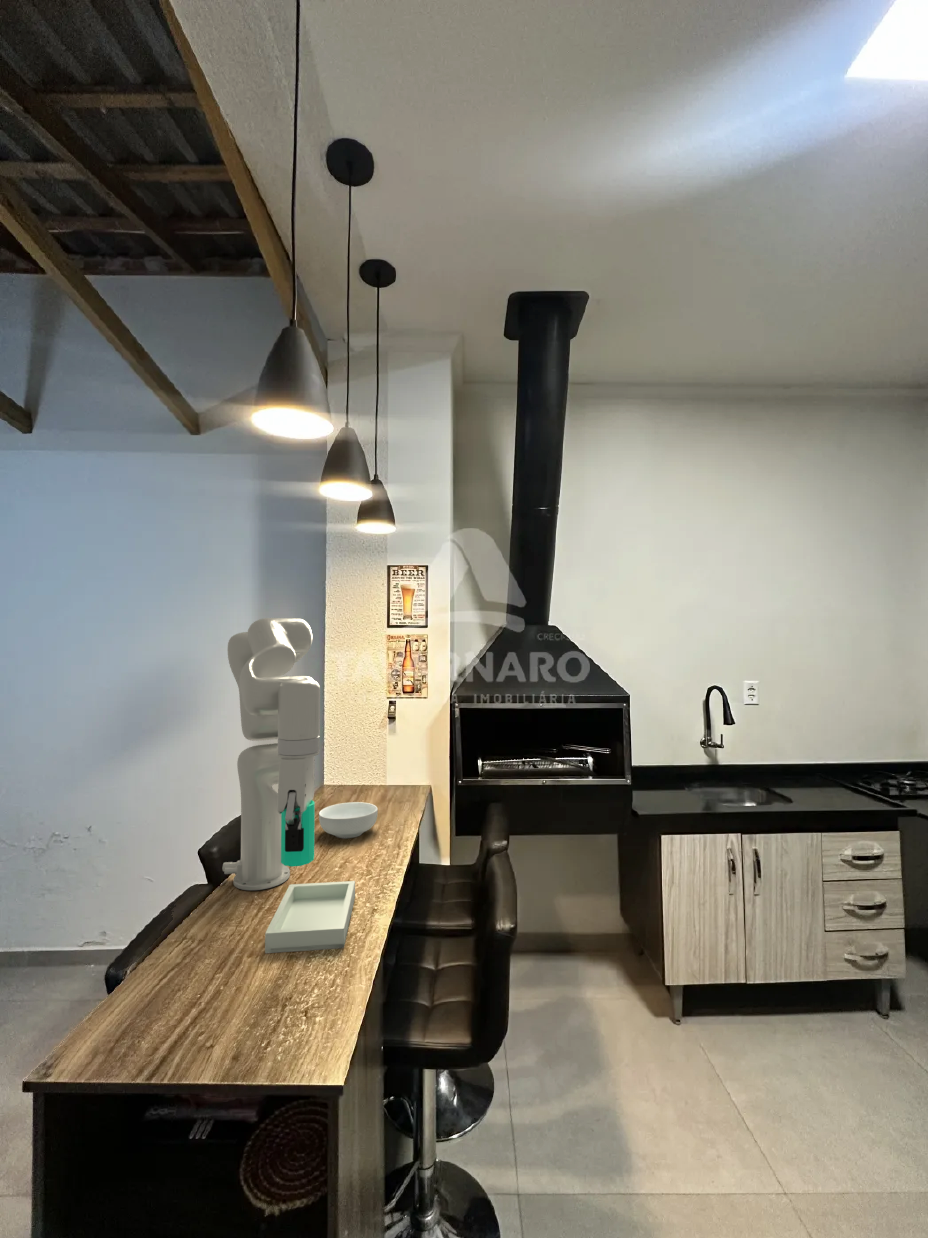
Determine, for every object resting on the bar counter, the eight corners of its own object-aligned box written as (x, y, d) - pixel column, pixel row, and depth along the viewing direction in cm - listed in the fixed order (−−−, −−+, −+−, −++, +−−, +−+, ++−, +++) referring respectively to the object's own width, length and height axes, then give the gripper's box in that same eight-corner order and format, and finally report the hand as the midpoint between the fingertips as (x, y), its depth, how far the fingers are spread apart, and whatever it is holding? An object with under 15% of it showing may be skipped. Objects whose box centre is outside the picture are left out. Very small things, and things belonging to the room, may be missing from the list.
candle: (288, 852, 103) (288, 789, 103) (318, 853, 103) (319, 790, 103) (275, 866, 97) (276, 799, 97) (308, 867, 97) (308, 800, 97)
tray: (265, 953, 97) (265, 933, 97) (289, 901, 117) (289, 884, 117) (343, 948, 98) (343, 928, 98) (355, 897, 118) (355, 881, 118)
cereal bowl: (373, 822, 169) (372, 799, 169) (382, 839, 153) (382, 814, 154) (317, 828, 164) (317, 804, 164) (320, 847, 148) (320, 821, 148)
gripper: (289, 737, 109) (288, 828, 108) (265, 757, 92) (263, 865, 91) (327, 737, 109) (326, 827, 109) (309, 756, 92) (308, 864, 92)
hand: (297, 843), depth 100 cm, fingers closed on candle, 4 cm apart
